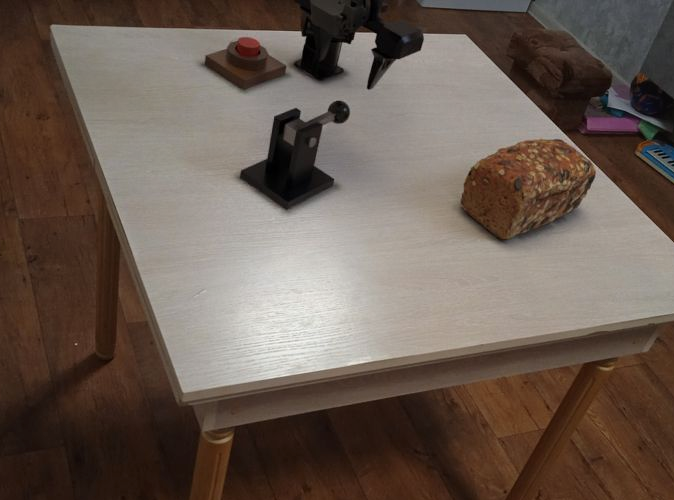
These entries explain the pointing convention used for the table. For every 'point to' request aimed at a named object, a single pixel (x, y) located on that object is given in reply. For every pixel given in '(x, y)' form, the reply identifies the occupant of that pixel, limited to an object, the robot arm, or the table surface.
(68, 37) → the table surface
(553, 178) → the bread
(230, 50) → the button block
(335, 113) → the lever
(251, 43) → the button
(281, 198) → the bracket
